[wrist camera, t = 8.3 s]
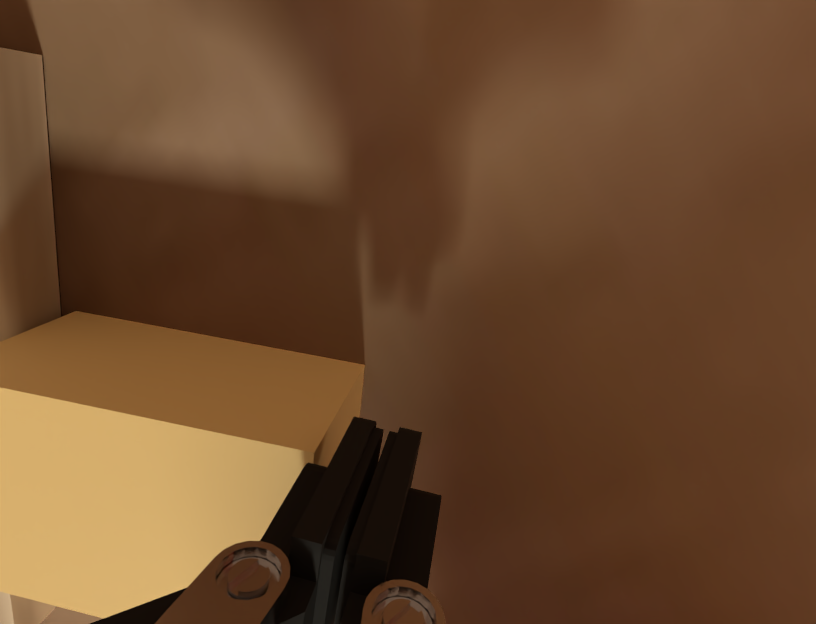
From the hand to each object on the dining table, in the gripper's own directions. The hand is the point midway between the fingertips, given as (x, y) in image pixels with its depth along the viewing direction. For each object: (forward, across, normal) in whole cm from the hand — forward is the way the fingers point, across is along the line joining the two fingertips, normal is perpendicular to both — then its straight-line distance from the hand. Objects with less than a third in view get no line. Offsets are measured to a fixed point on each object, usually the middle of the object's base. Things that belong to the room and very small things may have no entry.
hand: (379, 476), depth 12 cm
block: (+4, +6, +3) cm, 8 cm away
